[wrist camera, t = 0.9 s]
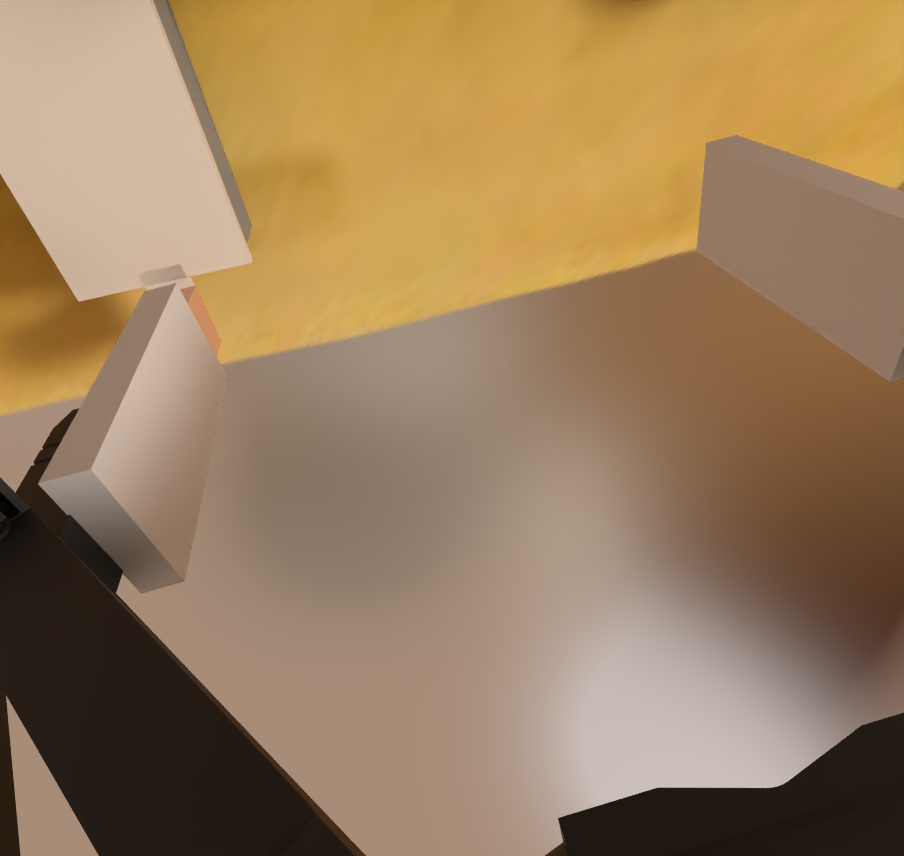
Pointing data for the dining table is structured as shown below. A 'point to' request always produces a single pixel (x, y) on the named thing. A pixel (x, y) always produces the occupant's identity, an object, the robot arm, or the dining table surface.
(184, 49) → the tub
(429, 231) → the dining table surface
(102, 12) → the lid
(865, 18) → the dining table surface
